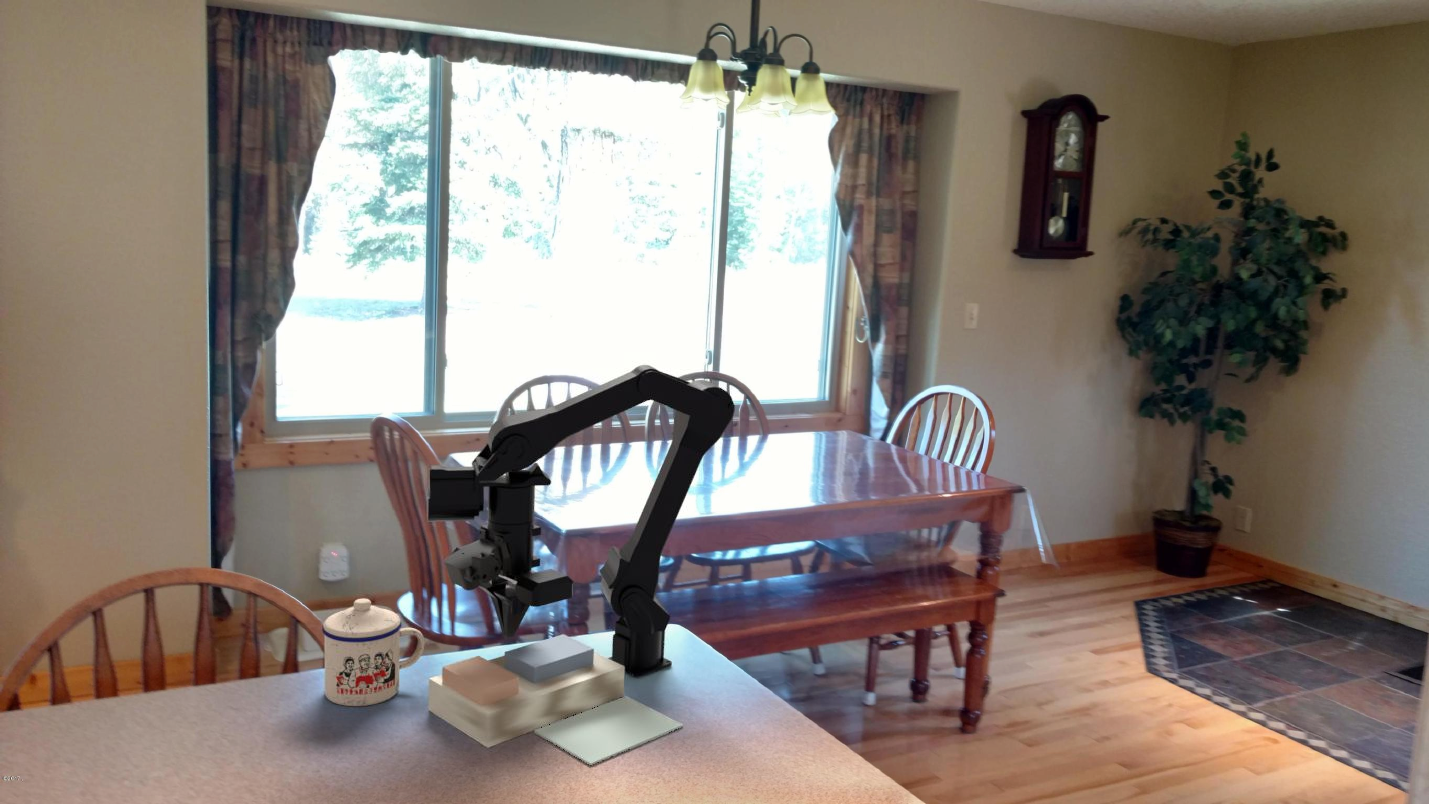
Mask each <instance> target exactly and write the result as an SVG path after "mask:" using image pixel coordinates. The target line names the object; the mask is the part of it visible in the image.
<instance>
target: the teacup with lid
mask: <svg viewBox="0 0 1429 804" xmlns="http://www.w3.org/2000/svg"><path fill="white" fill-rule="evenodd" d="M321 629H322V634H323V635H324V641H323V642H324V695H325V697H326V698H327V699H328V700H329V701H330V702H332V703H334V704H336V705H341V706H346V707H364V706H367V707H368V706H371V705H372V706H373V705H377V704H381V703H383V702H385V701H387V700H390V699H391V698H392V697H394V696H395V695H396V694H397V693H398V692H399V689H400V670H403V669H406V668H409V667H411V666H413V665H414V664H416V663H417V662H418V661H419V659H420V658H421V656H422V654H423V652H424V649H425V638H424V635H423V634H422V632H421V631H420V630H419V629H416V628H415V627H414V628H413V627H402V620H401V618H400V616H399V615H398V614H397V613H396V612H395V611H393V610H389V609H387V608H382V607H378V606H375V605H372V601H371V600H370V599H368V598H357V599H355V600H354V601H353V606H350V607H348V608H346V609H344V610H341V611H338V612H335V613H333V614H332V615H329V616H328V617H327V618H326V620H324V622H323V625H322V628H321ZM403 636H414V637H416V638H417V645H416V648H415V650H414V652H413V653H412V654H411V656H409V657H408V658H407V659H403V660H400V637H403Z"/></svg>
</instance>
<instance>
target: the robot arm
mask: <svg viewBox="0 0 1429 804" xmlns="http://www.w3.org/2000/svg"><path fill="white" fill-rule="evenodd" d="M648 401H653V402H656V403H659V404H661V405H663V406H665V407H667V408H670V409H672V410H675V413H674V417H673V418H674V419H673V428H672V431H673V432H672V438H671V439H672V440H671V444H670V446H669V448H668V451H667V453H666V455H665V458H664V460H663V462H662V464H661V467H660V469H659V471H658V474H657V476H656V478H655V481H654V483H653V486H652V488H651V490H650V492H649V495H648V497H647V499H646V501H645V504H644V506H643V508H642V511H641V512H640V513H641V514H640V516H639V518H638V520H637V522H636V523H637V524H636V525H635V528H634V530H633V531H632V532H633V533H632V534H631V537H630V538H629V540H628V541H627V542H626V543H625V544H624V545H623V546H622V547H621V548H618V547H616V546H615V545H611V546H610V548H609V551H608V554H607V557H606V558H607V559H606V561H605V563H604V565H603V566H602V567H601V568H600V569H599V571H598V572H599V574H600V576H601V580H600V587H601V590H602V592H603V595H604V596H605V598H606V601H607V602H608V604H609V606H610V607H611V609H612V611H613V612H614V613H615V614H616V615H617V616H619V619H618V620H617V621H615V622H614V625H615V626H614V634H612V647H611V649H612V650H611V656H610V657H607V658H608V659H610V660H612V661H614V662H616V663H618V664H620V665H623V666H625V671H624V673H625V674H628V675H630V676H632V677H634V678H641V677H643V676H647V675H649V674H653V673H654V672H657V671H658V672H659V671H661V670H663V669H665V668H668V667H671V666H672V663H673V662H672V660H669V659H668V658H665V641H666V640H665V639H666V638H665V637H666V635H665V634H666V629H667V627H668V625H669V622H670V619H671V615H670V614H669V612H668V611H667V610H666V608H665V607H664V605H663V604H662V603H661V601H660V600H659V598H658V596H657V595H656V591H657V588H658V584H659V579H660V578H659V577H660V564H661V557H662V553H663V550H664V549H665V548H664V547H665V546H666V544H667V541H668V539H669V536H670V535H671V532H672V529H673V527H674V525H675V523H676V520H677V517H678V515H679V514H680V513H679V512H681V511H680V510H681V508H682V506H683V503H684V501H685V499H686V497H687V495H688V492H689V490H690V487H691V486H692V483H693V481H694V478H695V476H696V474H697V471H698V469H699V466H700V464H701V462H702V459H703V458H704V456H705V455H706V454H707V452H708V451H710V450H711V448H713V446H715V444H716V443H717V442H718V441H719V440H720V439H721V437H722V435H723V434H724V432H726V429H727V428H728V427H729V425H730V423H731V422H732V420H733V418H734V414H735V409H736V407H735V406H736V405H735V403H734V401H733V397H732V396H731V395H730V394H729V392H728V391H726V390H725V389H724V388H722V387H720V386H718V385H716V384H714V383H713V382H711V381H708V380H705V379H695V380H694V381H692V382H690V381H687V380H685V379H683V378H679V377H677V376H674V375H671V374H668V373H667V372H666V373H665V372H663V371H660V370H659V369H657V368H655V367H653V366H651V365H649V364H641V365H638V366H636V367H635V368H634V369H633V370H631V371H629V372H627V373H625V374H622V375H620V376H617V377H615V378H614V379H612V380H609V381H607V382H604V383H603V384H600V385H598V386H596V387H593V388H591V389H589V390H587V391H584V392H582V393H580V394H578V395H576V396H574V397H571V398H569V399H567V400H565V401H563V402H560V403H558V404H556V405H553V406H550V407H546V408H541V409H533V410H527V411H523V412H519V413H515V414H512V415H511V414H510V415H507V416H504V417H502V418H499V419H497V420H496V421H495V422H494V423H493V424H492V425H491V426H490V429H489V430H488V433H487V443H486V444H485V445H484V446H483V448H482V449H481V450H480V451H479V452H478V454H477V455H476V456H475V457H474V459H473V460H472V462H471V466H444V465H440V464H439V465H430V466H429V467H428V487H426V521H427V523H431V522H433V523H434V522H462V521H463V522H465V521H468V522H469V521H474V520H475V517H479V516H480V513H483V512H484V507H485V506H484V505H485V491H484V490H485V487H488V492H487V495H488V496H487V497H488V498H487V499H488V502H487V503H488V505H487V524H484V525H483V524H482V525H480V529H479V530H478V538H477V540H476V541H474V542H470V543H468V544H466V545H461V546H458V547H457V546H456V547H455V549H454V550H453V552H451V554H450V555H448V556H446V557H445V558H444V560H443V562H444V566H445V569H446V571H447V575H448V577H449V580H450V583H451V584H452V585H457V586H459V587H461V588H462V590H465V591H473V590H475V589H478V588H480V589H482V590H483V591H484V592H485V593H486V594H487V595H488V596H489V597H490V599H491V602H492V604H493V607H494V611H495V614H496V617H497V620H498V622H499V623H498V624H499V626H500V629H501V634H502V636H503V637H504V638H506V639H511V638H513V637H515V636H516V635H515V634H516V633H517V631H518V629H519V628H520V625H521V623H522V622H523V619H524V618H525V616H526V615H527V612H528V610H529V609H530V607H532V608H533V607H534V608H535V607H536V608H540V607H543V606H547V605H551V604H554V603H557V602H562V601H566V600H569V599H572V598H573V595H574V580H572V578H571V577H569V575H566V574H564V573H561V572H559V571H557V570H556V569H555V570H554V569H552V568H548V569H544V570H541V571H537V570H533V568H538V567H540V566H541V557H538V556H535V555H534V545H535V543H534V540H535V537H536V536H537V537H538V536H541V535H542V526H539V525H536V524H535V501H536V500H535V497H536V486H538V487H539V486H541V487H542V486H551V484H552V480H551V478H550V477H549V475H548V474H547V473H546V472H545V471H544V470H543V469H541V467H540V465H539V463H538V462H537V461H540V460H541V459H542V458H544V457H545V456H546V455H548V454H550V452H552V450H553V449H554V448H555V447H557V446H558V445H559V444H560V443H561V442H563V441H564V440H566V439H567V438H569V437H571V436H573V435H575V434H578V433H580V432H582V431H584V430H586V429H588V428H590V427H593V426H595V425H598V424H599V423H601V422H604V421H606V420H609V419H610V418H612V417H615V416H617V415H619V414H621V413H624V412H626V411H628V410H630V409H632V408H634V407H636V406H639V405H641V404H644V403H645V402H648ZM530 466H531V467H530ZM527 468H528V469H527Z"/></svg>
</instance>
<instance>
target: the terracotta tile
mask: <svg viewBox="0 0 1429 804" xmlns="http://www.w3.org/2000/svg"><path fill="white" fill-rule="evenodd" d="M441 669H442V670H441V671H442V674H441V675H442V683H443V684H445V685H447V686H448V687H450V688H452V689H453V690H455V691H457V692H458V693H460V694H462V695H464V696H465V697H467V698H469V699H470V700H472V701H474V702H475V703H477V704H479V705H480V706H484V705H487V704H490V703H493V702H496V701H499V700H502V699H505V698H507V697H510V696H513V695H516V694H518V689H519V677H517V676H515V675H513V674H512V673H510V672H508V671H506V670H504V669H502V668H501V667H499V666H497V665H495V664H493V663H491V662H489V661H488V659H486V658H484V657H482V656H480V655H476V656H473V657H470V658H466V659H463V660H460V661H457V662H454V663H450V664H447V665H444V666H442V668H441Z"/></svg>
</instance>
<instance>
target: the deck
mask: <svg viewBox="0 0 1429 804" xmlns="http://www.w3.org/2000/svg"><path fill="white" fill-rule="evenodd" d="M608 658H609V657H605V656H604V655H601V654H600V653H597V652H595V651H594V660H593V664H592V665H589V666H586V667H583V668H580V669H577V670H574V671H571V672H568V673H565V674H562V675H559V676H556V677H553V678H550V679H547V680H544V681H541V682H538V683H535V684H534V683H532V682H530V681H528V680H526V679H524V678H523V677H521V676H519V675H517V674H515V673H513V672H511V671H510V670H508V669H506V668H504V655H502V656H498V657H495V658H492V659H489V660H488V659H487V660H488V661H489V662H491V663H493V664H495V665H497V666H499V667H501V668H502V669H504V670H506V671H508V672H510V673H512V674H513V675H515V676H517V677H519V689H518V694H516V695H513V696H510V697H507V698H505V699H502V700H499V701H496V702H493V703H490V704H487V705H484V706H480V705H479V704H477V703H475V702H474V701H472V700H470V699H469V698H467V697H465V696H464V695H462V694H460V693H458V692H457V691H455V690H453V689H452V688H450V687H448V686H447V685H445V684H443V683H442V674H438V675H435V676H433V677H430V678H428V711H430V712H431V713H432V714H434V715H435V716H436V717H438V718H440V719H442V720H444V721H445V722H446V723H448V724H450V725H451V726H453V727H454V728H456V729H458V730H459V731H461V732H462V733H464V734H466V735H467V736H469V737H470V738H471V739H473V740H475V741H477V742H478V743H480V744H481V745H482V746H484V747H486V748H490V747H494V746H495V745H499V744H501V743H504V742H506V741H509V740H512V739H515V738H517V737H519V736H520V737H521V736H523V735H526V734H528V733H530V732H533V731H534V730H537V729H539V728H541V727H545V726H547V725H549V724H553V723H555V722H558V721H559V720H560V721H561V720H562V719H565V718H567V717H568V718H569V717H571V716H573V715H575V714H576V715H577V714H579V713H581V712H585V711H587V710H590V709H592V708H594V707H595V708H596V707H597V706H601V705H604V704H606V703H608V702H610V701H611V702H612V701H613V700H615V699H620V697H624V693H625V689H624V688H625V672H624V671H625V666H623V665H620V664H618V663H616V662H614V661H612V660H610V659H608Z"/></svg>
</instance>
